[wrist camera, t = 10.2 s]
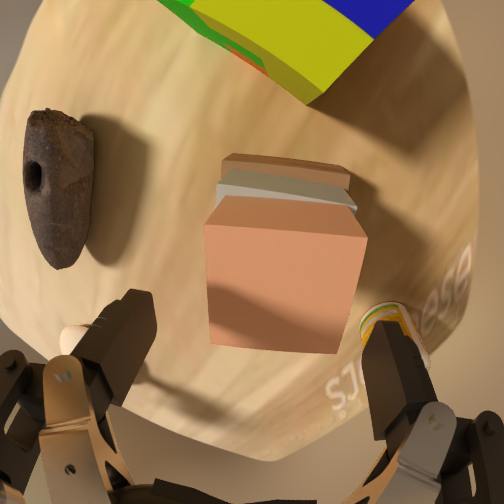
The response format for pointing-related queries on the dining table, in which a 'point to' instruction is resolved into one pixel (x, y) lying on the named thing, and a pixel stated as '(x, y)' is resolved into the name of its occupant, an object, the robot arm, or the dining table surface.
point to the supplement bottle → (393, 313)
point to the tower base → (288, 169)
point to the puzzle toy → (292, 35)
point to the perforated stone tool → (58, 184)
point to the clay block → (281, 273)
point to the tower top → (280, 189)
